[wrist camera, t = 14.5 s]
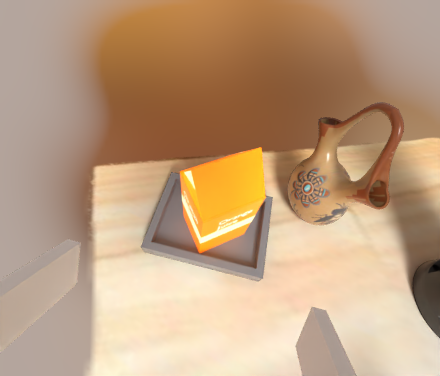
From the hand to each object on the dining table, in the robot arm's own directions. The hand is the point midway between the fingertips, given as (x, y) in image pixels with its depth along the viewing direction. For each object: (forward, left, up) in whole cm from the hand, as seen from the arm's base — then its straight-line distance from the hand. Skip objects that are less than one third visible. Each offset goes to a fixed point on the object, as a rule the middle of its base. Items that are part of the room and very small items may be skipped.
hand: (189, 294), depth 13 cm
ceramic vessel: (-17, -23, -27) cm, 39 cm away
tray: (0, -14, -26) cm, 30 cm away
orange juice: (0, -14, -26) cm, 29 cm away
